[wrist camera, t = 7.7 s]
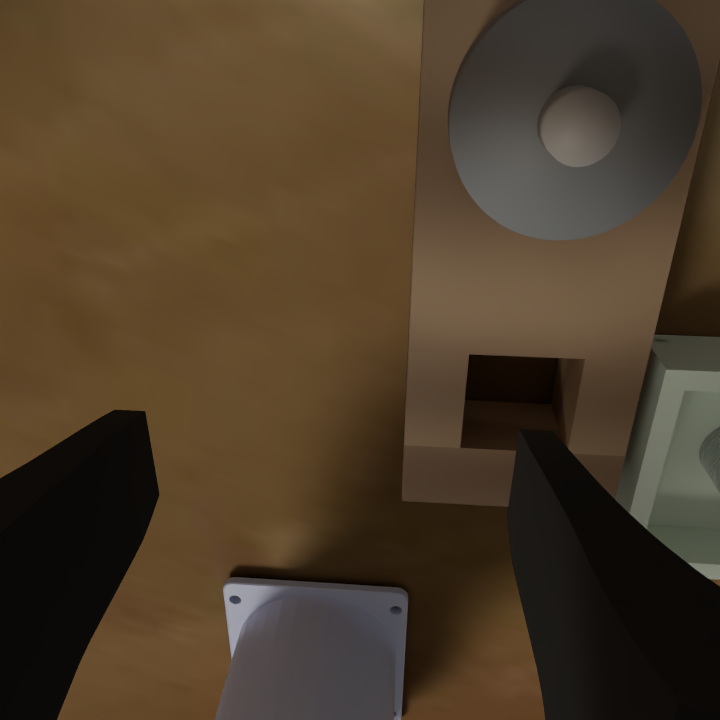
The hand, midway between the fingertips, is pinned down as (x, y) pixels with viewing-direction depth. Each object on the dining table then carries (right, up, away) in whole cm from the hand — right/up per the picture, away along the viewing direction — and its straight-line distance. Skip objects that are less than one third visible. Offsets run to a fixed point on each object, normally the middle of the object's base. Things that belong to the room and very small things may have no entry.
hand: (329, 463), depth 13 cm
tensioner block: (+6, +6, +8) cm, 12 cm away
